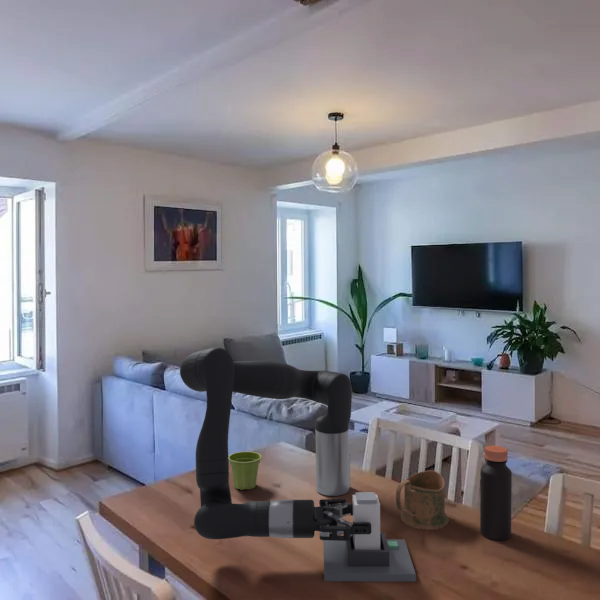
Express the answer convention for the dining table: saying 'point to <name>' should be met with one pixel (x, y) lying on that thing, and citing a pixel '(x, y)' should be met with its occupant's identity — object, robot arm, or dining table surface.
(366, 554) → the dock
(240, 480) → the plant pot
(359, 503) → the grey tall block
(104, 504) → the dining table surface
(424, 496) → the mug
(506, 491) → the bottle
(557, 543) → the dining table surface
